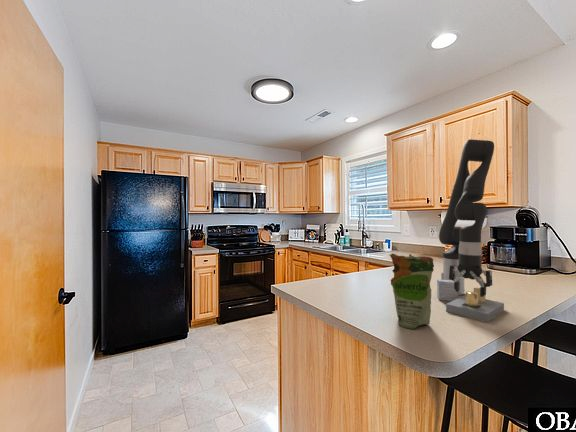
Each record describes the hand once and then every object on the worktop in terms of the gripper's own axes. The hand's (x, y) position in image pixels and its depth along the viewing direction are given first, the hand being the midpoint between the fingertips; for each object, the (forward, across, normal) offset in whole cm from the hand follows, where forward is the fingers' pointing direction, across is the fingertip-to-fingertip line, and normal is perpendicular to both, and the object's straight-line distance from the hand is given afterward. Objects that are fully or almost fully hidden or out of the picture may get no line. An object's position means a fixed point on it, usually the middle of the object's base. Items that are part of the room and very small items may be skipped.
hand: (469, 293), depth 106 cm
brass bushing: (+8, -1, 0) cm, 8 cm away
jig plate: (+8, -1, -4) cm, 9 cm away
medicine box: (+8, +12, -11) cm, 18 cm away
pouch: (+8, +8, +30) cm, 32 cm away
